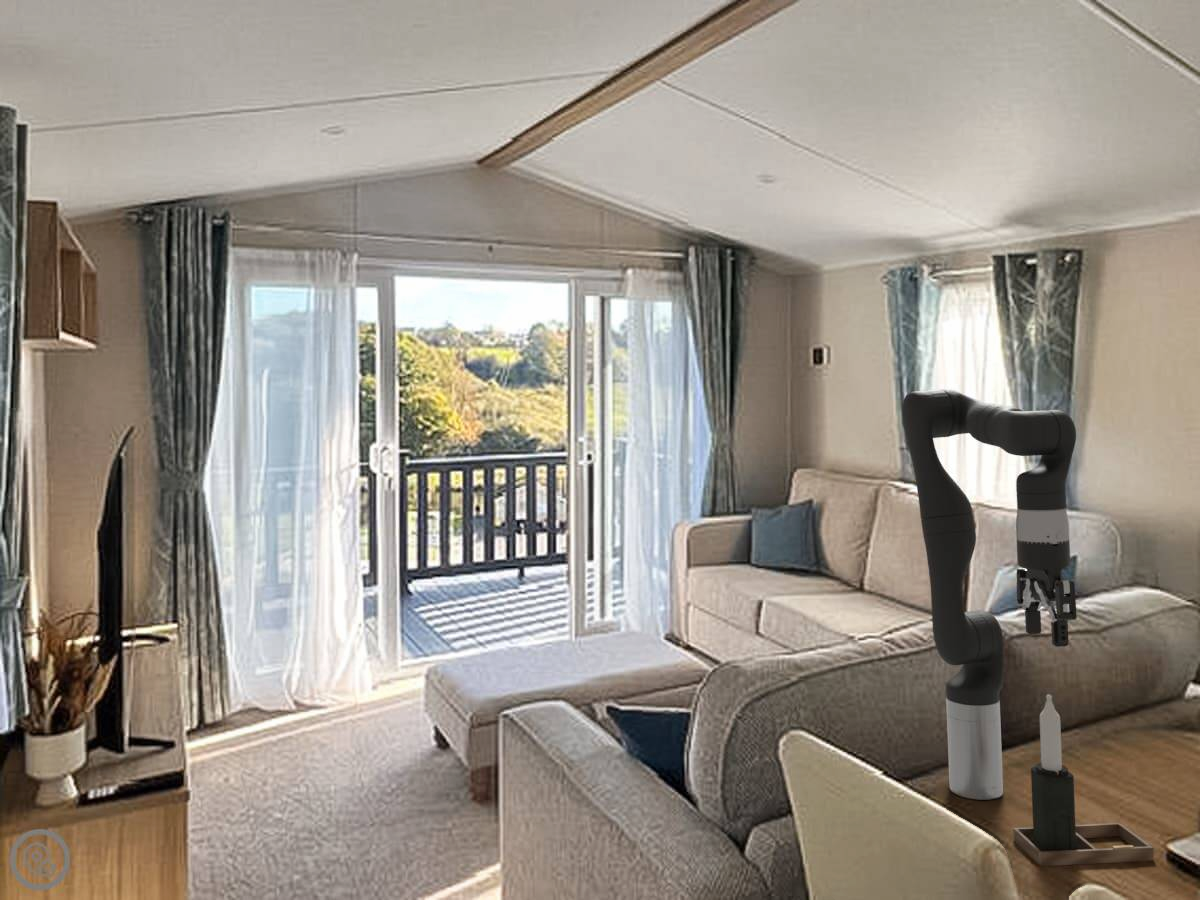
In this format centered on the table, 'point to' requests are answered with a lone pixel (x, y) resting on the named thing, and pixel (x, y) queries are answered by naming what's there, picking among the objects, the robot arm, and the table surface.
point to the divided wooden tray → (1088, 846)
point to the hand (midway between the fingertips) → (1046, 639)
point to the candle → (1052, 789)
